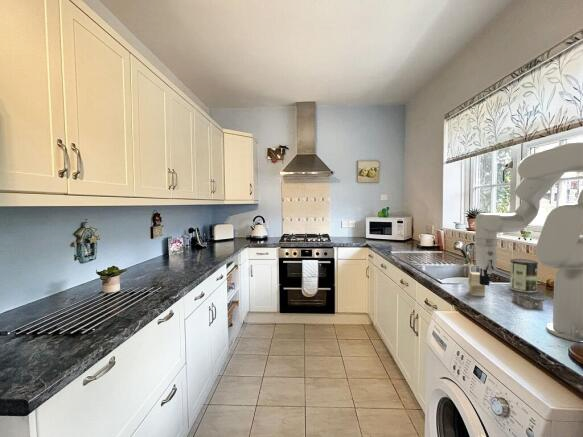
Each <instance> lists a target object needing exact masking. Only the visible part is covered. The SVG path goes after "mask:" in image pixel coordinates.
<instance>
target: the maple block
mask: <svg viewBox="0 0 583 437" xmlns="http://www.w3.org/2000/svg"><path fill="white" fill-rule="evenodd" d="M467 283H468V288H467V289H468V290H467V293H468V294H469V295H471V297H483V298H484V297H485V294H486V293H485V292H486V285H481V284H480V272H479V271H468V281H467Z"/></svg>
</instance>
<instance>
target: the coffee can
mask: <svg viewBox="0 0 583 437" xmlns="http://www.w3.org/2000/svg"><path fill="white" fill-rule="evenodd" d="M509 260H510V261H509V262H510V271H509V273H510V277H509V279H510V284H509V289H510V290H513V291H515V292H522V293H532V294H533V293H537V292H538V290H537V289H538V288H537V287H538V286H537V285H538V265H539V262H538V261H536V260H533V259H524V258H511V259H509Z"/></svg>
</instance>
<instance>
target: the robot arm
mask: <svg viewBox="0 0 583 437" xmlns="http://www.w3.org/2000/svg"><path fill="white" fill-rule="evenodd" d="M571 172H574V173H575V172H576V173H581V172H582V173H583V142H569V143H568V142H567V143H563V144H560V145H556V146H554V147H550V148H548V149H544V150H540V151H537V152H534V153H531V154H529V155H527V156H525V157H524V158H523V159H522V160H520V162H519V163H518V166H517V173H518V175H519V177H520V178H522V179H521V180H520V182H519V183H518V184H517V186H516V187H515V188H514V191H513V192H514V194H515V196H516V197H518V199H520V200H521V203H520V204H519V206H518V207H517V208H516V210H515V211H514V212H511V213H505V212H504V213H491V212H490V213H488V212H486V213H483V212H480V213H478V214H476V216H475V230H474V231H475V232H474V233H475V236H474V240H475V241H474V245H475V246H476V248H475V250H476V251H475V265H476V266H477V268H478V270H479V271H478V272H480V284H481V285H485V286H490V283H491V282H490V281H491V280H490V278H491V274H493V273H492V272H493V271H497V269H498V261H497V260H498V258H497V256H498V255H497V249H496V247H497V241H498V240H497V239H498V238H497V237H498V236H497V235H498V234H499V233H517V232H520V231H522V230H524V229H526V228H527V227H528V226H529V225H530V224H532V222H533V221H534V219H535V218H536V217H537V216H538V213H539V209H540V207H541V206H540V205H541V204H540V201H541V200H542V199H543V198H544V196H545V195H546V194H547V193H549V191H550V190H551V189H552V188H553V187H554V186H555V185H556V183H557V182H558V181H559V180H560V179H561V178H562V176H563V175H564V174H566V173H571ZM535 255H536V258H537V259H538V261H539V263H541V264H542V265H543V266H545V267H548V268H550V269H556V271H555V275H554V283H553V287H554V288H553V308H552V309H553V310H552V322H550V323H548V324H546V327H545V329H546V330H547V332H549V333H550V334H552V335H553V336H557V337H559V338H562V339H565V340H568V341H573V342H577V343H581V342H580V341H583V185H582V186H581V188H580V190H579V193H578V196H577V198H576V200H575V202H574V203H573V202H572V203H565V204H560V205H558V206H556V207H554V208H553V209H552V210H551V211H550V212H549V213H548V215H547V216H546V218H545V221H544V224H543V226H542V229H541V232H540V234H539V237H538V240H537V243H536V246H535Z"/></svg>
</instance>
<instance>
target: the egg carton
mask: <svg viewBox="0 0 583 437" xmlns="http://www.w3.org/2000/svg"><path fill="white" fill-rule="evenodd" d="M510 294H511V295H512V296H511V297H512V298H511V302H514V303H517V305H520V306H522V307H523V308H524V309H525V308H526V309H530V310H532V309H537V310H542V309H543V304H544V302H545V299H544V298H536V297H534V296H533V297H532V296H529V295H528V294H525V295H524V294H523V293H513V292H511V293H510Z"/></svg>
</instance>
